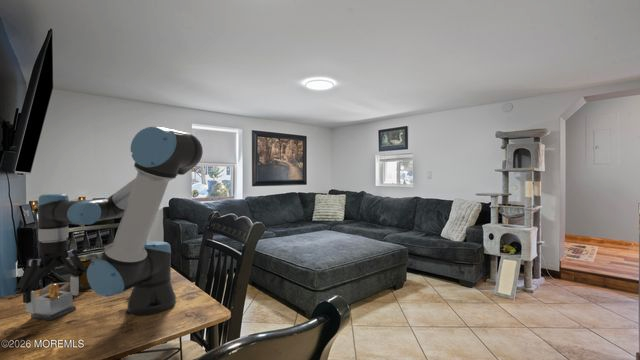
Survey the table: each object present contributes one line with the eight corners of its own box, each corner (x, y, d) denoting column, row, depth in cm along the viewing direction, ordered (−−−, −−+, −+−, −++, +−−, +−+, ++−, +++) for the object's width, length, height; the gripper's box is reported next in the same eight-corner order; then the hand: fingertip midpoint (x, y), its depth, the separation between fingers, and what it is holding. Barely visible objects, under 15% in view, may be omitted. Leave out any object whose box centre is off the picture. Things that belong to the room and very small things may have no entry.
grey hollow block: (72, 306, 102) (72, 292, 102) (50, 316, 96) (50, 300, 95) (56, 304, 104) (56, 290, 104) (33, 313, 97) (33, 298, 97)
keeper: (75, 309, 103) (75, 280, 102) (50, 320, 95) (50, 289, 95) (57, 307, 104) (57, 278, 104) (30, 318, 97) (30, 287, 96)
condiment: (79, 285, 124) (79, 257, 124) (101, 284, 126) (101, 256, 125) (67, 292, 117) (67, 262, 117) (91, 291, 118) (91, 261, 118)
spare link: (72, 294, 115) (72, 281, 115) (63, 302, 108) (63, 288, 108) (50, 296, 113) (50, 283, 113) (39, 304, 106) (39, 290, 106)
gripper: (81, 232, 112) (81, 287, 113) (-2, 248, 88) (-2, 319, 88) (97, 233, 111) (97, 289, 111) (17, 250, 86) (18, 322, 87)
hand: (53, 302), depth 100 cm, fingers open, 13 cm apart
